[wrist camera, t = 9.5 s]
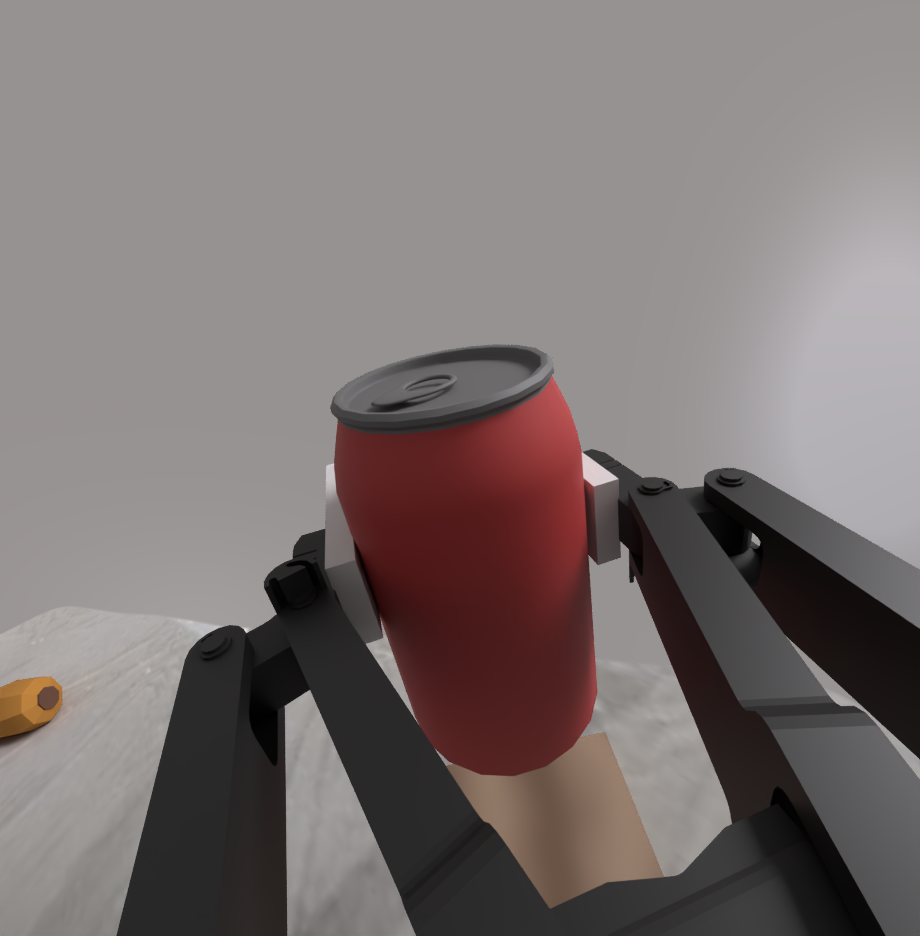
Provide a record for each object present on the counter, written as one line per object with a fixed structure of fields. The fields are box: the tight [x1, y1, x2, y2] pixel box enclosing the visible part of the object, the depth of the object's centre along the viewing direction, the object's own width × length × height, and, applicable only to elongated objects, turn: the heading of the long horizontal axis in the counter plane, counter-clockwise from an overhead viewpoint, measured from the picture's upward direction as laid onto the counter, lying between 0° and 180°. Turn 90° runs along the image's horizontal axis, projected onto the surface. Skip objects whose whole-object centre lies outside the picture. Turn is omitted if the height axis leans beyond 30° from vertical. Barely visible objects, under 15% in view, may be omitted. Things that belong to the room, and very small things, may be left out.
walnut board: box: [446, 732, 664, 909], centre depth 23 cm, size 11×11×1 cm
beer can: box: [330, 345, 597, 776], centre depth 14 cm, size 7×7×12 cm
